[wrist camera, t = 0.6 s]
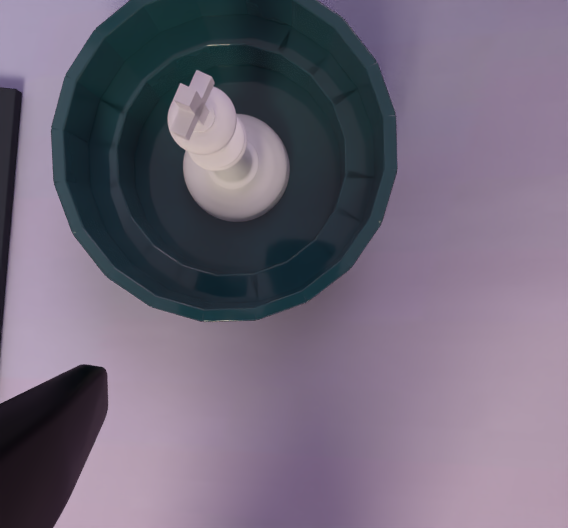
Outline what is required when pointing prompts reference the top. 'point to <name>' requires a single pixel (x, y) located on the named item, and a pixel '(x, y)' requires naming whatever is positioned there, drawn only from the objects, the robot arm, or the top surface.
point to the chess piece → (226, 153)
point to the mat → (7, 174)
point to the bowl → (169, 155)
